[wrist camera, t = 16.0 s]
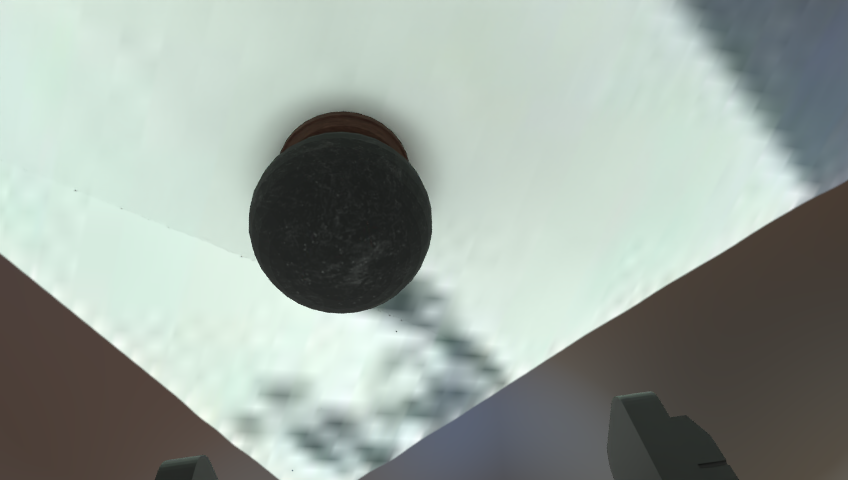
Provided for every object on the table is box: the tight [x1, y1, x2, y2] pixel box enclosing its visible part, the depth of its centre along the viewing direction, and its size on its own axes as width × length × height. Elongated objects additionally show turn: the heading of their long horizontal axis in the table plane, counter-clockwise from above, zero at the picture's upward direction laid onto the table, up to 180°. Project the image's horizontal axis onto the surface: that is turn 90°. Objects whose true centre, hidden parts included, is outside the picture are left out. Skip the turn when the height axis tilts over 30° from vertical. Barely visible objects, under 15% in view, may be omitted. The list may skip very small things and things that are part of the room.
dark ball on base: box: [249, 111, 432, 313], centre depth 43 cm, size 13×13×15 cm
